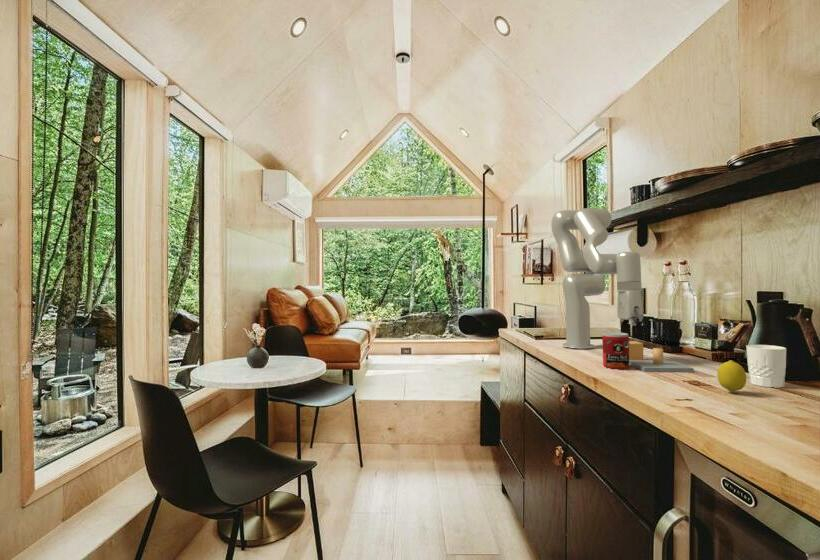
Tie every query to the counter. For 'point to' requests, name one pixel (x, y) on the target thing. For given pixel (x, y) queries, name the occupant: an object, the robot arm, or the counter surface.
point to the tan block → (635, 350)
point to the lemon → (731, 376)
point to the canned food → (615, 350)
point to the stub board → (659, 364)
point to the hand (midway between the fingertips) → (631, 336)
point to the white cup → (766, 365)
